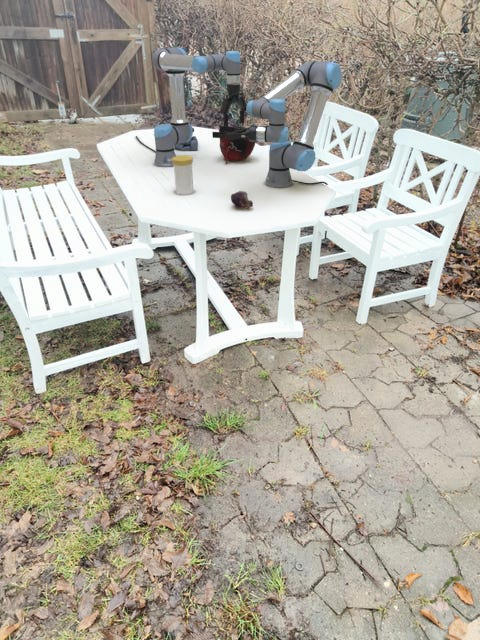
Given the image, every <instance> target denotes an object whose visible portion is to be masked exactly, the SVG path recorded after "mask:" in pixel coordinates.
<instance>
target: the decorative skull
mask: <svg viewBox="0 0 480 640" xmlns="http://www.w3.org/2000/svg"><path fill="white" fill-rule="evenodd" d="M227 133H230V132H227ZM255 147H256V142H252V141H249V138H248V137H245V139H228V140H226V139H225V138H219V150H220V152H221V154H222V157H223V158H224V160H225V165H227V164H228V161H230V162H242V161H244V160H246V159H248V158H249V157H250V156H251V155H252V153H253V151H254V149H255Z"/></svg>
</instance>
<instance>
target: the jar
mask: <svg viewBox="0 0 480 640" xmlns="http://www.w3.org/2000/svg"><path fill="white" fill-rule="evenodd" d="M173 165H174V166H173V174H174V176H173V177H174V186H175V193H176V194H177V195H182V196H183V195H184V196H187V195H191V194H193V193H194V192H195V188H194V187H195V185H194V173H193V163H192V164H189V165H175V164H173Z"/></svg>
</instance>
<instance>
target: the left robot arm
mask: <svg viewBox="0 0 480 640" xmlns="http://www.w3.org/2000/svg"><path fill="white" fill-rule="evenodd" d="M151 61H152V64H153V67H154V68H155V69H157V70H158V71H161V72H165V74H166V75H167V76H168V83H169V95H170V107H171V120H170V121H169V123H161V124H158V125H156V126H155V127H154V129H153V136H154V145H155V149H152V148H151V147H149V146H148V145H146V144H144V143H143V142H142V141H141V140H140V139H139V137H138V136H137V135H135V138H136V139H137V141H138V142H139V143H140V144H141V145H142V146H144V147H146V148H147V149H149V150H151V151H152V152H154V153H155V155H154V165H155V166H157V167H163V168H164V167H165V168H167V167H168V168H169V167H174V165H173V163H172V158H173V157H176V156H177V153H176V151H175V147H174V145H176V144H180V143H185V142H188V141H189V140H190V139H191V138H192V137H193V136H194V132H193V129H192V128H193V126H192V124H191V123H190V122H189V120H188V119H187V117H186V116H187V115H186V103H185V90H184V88H185V87H184V75H185V74H186V71H187V72H194V73H196V74H203V73H210V72H218V71H222V72H226V91H227V94H223V99H222V103H221V108H220V111H219V114H221V115H222V120H223V126H228V127H229V114H228V113H229V110H230V108H231V106H232V105H233V104H234V103H236V104H237V107H238V108H239V109H240V110H239V123H240V124H245V116H246V112H247V110H246V107H247V101H246V99H245V94H244V92H243V91H241V52H240V51H238V50H228V51H226V53H225V54H219V53H216V54H215V53H214V54H211V55H189V54H187V52H186V51H185V50H184V49H183V48H182V47H180V46H179V47H176V46H175V47H162V48H158V49H156V50H155V51H154V52H153V54H152V59H151ZM188 122H189V123H190V124H191V125H190V124H189V123H188ZM191 126H192V127H191Z"/></svg>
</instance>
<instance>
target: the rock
mask: <svg viewBox="0 0 480 640" xmlns="http://www.w3.org/2000/svg"><path fill="white" fill-rule="evenodd" d="M230 200H231V203H232V204H233V206H234V207H235V208H237V209H250V208H252V207H254V205H253V204H254V203H253V201H252V200H250V199H249V195H248V192H247V191H243V190H239V191H237V192H234V193H231V195H230Z"/></svg>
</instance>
